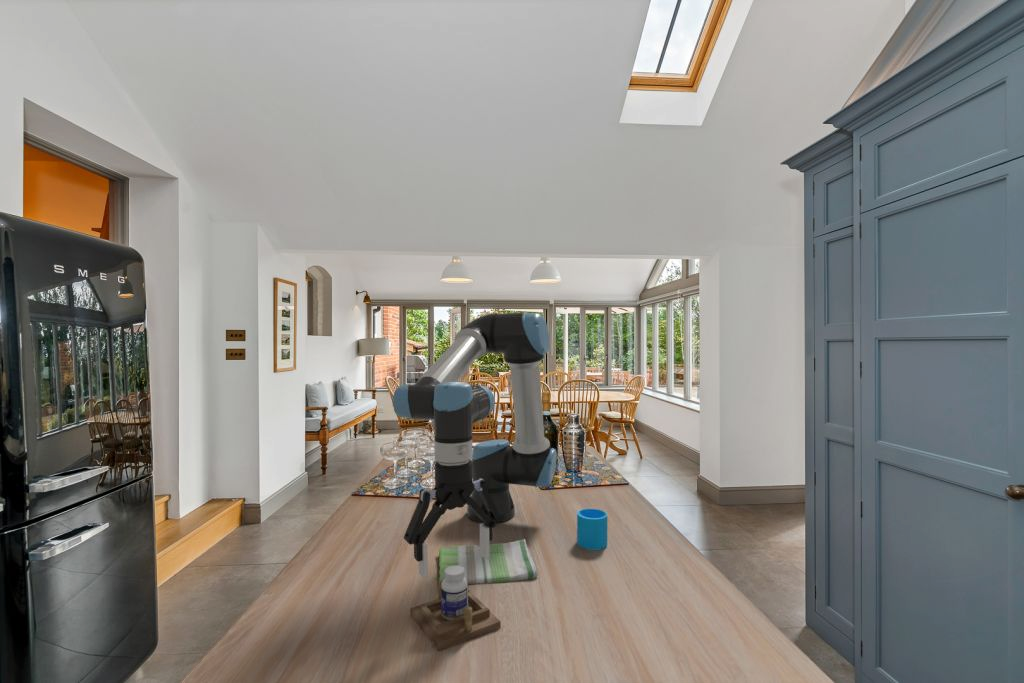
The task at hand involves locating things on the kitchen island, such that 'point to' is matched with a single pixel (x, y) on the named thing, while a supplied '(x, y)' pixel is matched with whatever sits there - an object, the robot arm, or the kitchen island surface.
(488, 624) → the cradle
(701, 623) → the kitchen island surface
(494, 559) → the dish towel
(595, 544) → the mug
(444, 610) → the pill bottle
